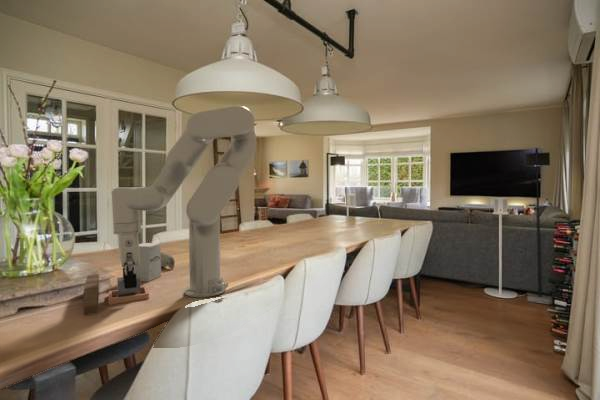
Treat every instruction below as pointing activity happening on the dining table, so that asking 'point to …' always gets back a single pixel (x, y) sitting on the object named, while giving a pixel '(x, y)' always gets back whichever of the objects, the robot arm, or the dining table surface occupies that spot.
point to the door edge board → (91, 294)
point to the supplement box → (149, 261)
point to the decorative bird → (167, 260)
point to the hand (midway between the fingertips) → (129, 283)
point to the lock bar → (129, 291)
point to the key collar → (128, 298)
